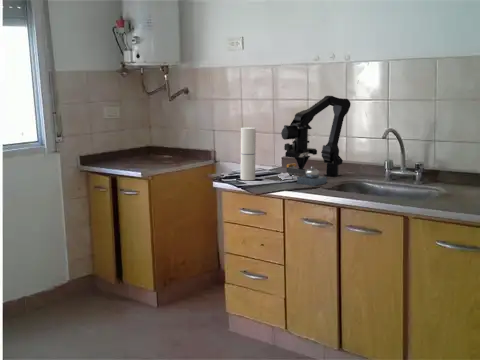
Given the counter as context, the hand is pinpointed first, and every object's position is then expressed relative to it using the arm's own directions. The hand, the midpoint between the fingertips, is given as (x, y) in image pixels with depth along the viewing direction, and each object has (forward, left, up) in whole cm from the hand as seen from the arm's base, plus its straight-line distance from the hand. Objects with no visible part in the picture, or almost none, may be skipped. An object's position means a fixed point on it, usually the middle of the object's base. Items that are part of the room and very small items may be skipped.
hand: (301, 170), depth 283 cm
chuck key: (-4, -9, -4) cm, 11 cm away
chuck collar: (+6, +5, -1) cm, 8 cm away
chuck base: (+6, +11, -4) cm, 13 cm away
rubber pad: (+7, -8, -4) cm, 11 cm away
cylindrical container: (+19, -18, -4) cm, 27 cm away
